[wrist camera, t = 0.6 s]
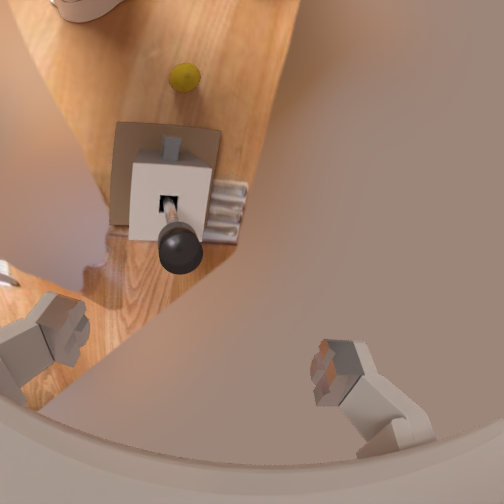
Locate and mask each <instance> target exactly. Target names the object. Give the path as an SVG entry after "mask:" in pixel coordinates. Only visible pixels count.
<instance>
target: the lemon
mask: <svg viewBox="0 0 504 504" xmlns="http://www.w3.org/2000/svg"><path fill="white" fill-rule="evenodd" d="M200 78H201V76H200V71H199V69H198V68H197V67H196V66H195V65H193V64H190V63H183V64H179V65H177V66H176V67H175V68H173V70H172V71H171V73H170V75H169V83H170V85H171V87H172V88H173V89H174V90H176V91H178V92H189V91H191V90H193V89H194V88H196V86H197V85H198V84H199V82H200Z"/></svg>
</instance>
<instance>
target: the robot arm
mask: <svg viewBox="0 0 504 504" xmlns="http://www.w3.org/2000/svg"><path fill="white" fill-rule="evenodd" d="M121 1H124V0H50V2H51V3H52V4H54V5H55V6H57V8H58V11H59V13H60V15H61V16H62V17H63V18H64V19H65V20H67V21H70V22H87V21H91V20H94V19H96V18H99V17H101V16H103V15H104V14H106V13H108V12H109V11H110V10H112V9H113V8H114V7H115V6H116V5H117V4H119V3H120V2H121ZM85 311H86V306H85V302H83V301H81V300H78V299H74V298H71V297H68V296H64V295H61V294H57V293H54V292H51V291H48V292H46V293H45V294H44V295H43V296H42V297H41V299H40V300H39V301H38V302H37V304H36V305H35V306H34V308H33V309H32V310H31V311H30V313H29V314H28V315H27V317H26V318H25V319H24V318H21V319H18V320H16V321H14V322H12V323H10V324H8V325H6V326H4V327H2V328H0V504H504V419H502V418H495V419H493V420H490V421H488V422H486V423H484V424H481V425H479V426H477V427H474V428H472V429H469V430H466V431H464V432H461V433H458V434H456V435H453V436H450V437H447V438H444V439H441V440H438V441H437V440H436V437H435V435H434V432H433V429H432V427H431V424H430V421H429V419H428V417H427V414H426V412H425V411H424V410H422V409H421V408H420V407H419V406H418V405H416V404H415V403H414V402H413V401H412V400H411V399H410V398H408V397H407V396H406V395H405V394H403V393H402V392H401V391H400V390H399V389H398V388H397V387H395V386H394V385H393V384H392V383H391V382H390V381H388V380H387V379H386V378H385V377H383V375H378V372H377V370H376V367H375V365H374V362H373V359H372V357H371V354H370V352H369V349H368V347H367V345H366V343H365V342H364V341H360V340H333V339H324V340H323V341H322V342H321V344H320V345H319V349H320V352H319V353H317V354H316V355H315V356H314V358H313V360H312V363H311V368H310V375H311V380H312V381H313V382H314V384H315V385H316V387H315V389H314V390H313V391H314V396H315V401H316V406H339V409H340V410H341V411H342V412H343V414H344V415H345V416H346V417H347V419H348V420H349V421H350V422H351V423H352V425H353V426H354V427H355V428H356V429H357V431H358V432H359V433H360V434H361V435H362V437H363V438H364V439H365V440H366V441H367V443H366V444H365V445H364V446H363V447H362V448H360V449H359V450H358V452H357V453H356V454H357V459H354V460H347V461H338V462H328V463H317V464H299V465H252V464H234V463H221V462H212V461H204V460H195V459H189V458H183V457H177V456H171V455H166V454H161V453H156V452H152V451H147V450H143V449H139V448H134V447H131V446H127V445H124V444H120V443H116V442H113V441H110V440H107V439H103V438H100V437H97V436H94V435H91V434H89V433H86V432H83V431H80V430H78V429H75V428H72V427H70V426H67V425H65V424H62V423H60V422H58V421H55V420H53V419H51V418H49V417H46V416H44V415H42V414H40V413H38V412H36V411H34V410H32V409H30V408H28V407H26V406H25V405H26V403H27V398H26V396H25V395H24V393H23V392H22V390H21V389H20V388H21V387H22V386H23V385H25V384H26V383H27V382H29V381H30V380H31V379H33V378H34V377H35V376H37V375H38V374H39V373H41V372H42V371H43V370H45V369H46V368H47V367H49V366H50V365H52V364H53V363H54V361H55V362H58V363H61V364H64V365H67V366H70V367H74V366H75V364H76V362H77V360H78V358H79V356H80V349H79V348H80V347H82V346H84V345H85V344H86V342H87V340H88V338H89V333H90V323H89V319H88V318H87V317H86V316H85V315H84V313H85Z"/></svg>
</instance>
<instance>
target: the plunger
mask: <svg viewBox="0 0 504 504" xmlns="http://www.w3.org/2000/svg"><path fill="white" fill-rule="evenodd" d="M177 199H178V196H169V195H160V202H159V211H164V213H165V219H166V224H167V225H166V226H165V227H164V228H163V229H162V230H161V231H160V233H159V236H158V250H159V258H160V262H161V264H162V266H163V267H164V268H165V269H166V270H167V271H169V272H171V273H173V274H186V273H189V272H191V271H193V270H194V269H196V268H197V267H198V265H199V264H200V262H201V260H202V257H203V250H202V247H201V244H200V242H199V239H198V237H197V235H196V232H195V230H194V229H193V228H192V227H191V226H190V225H189V224H187V223H184V222H179V218H178V215H177V212H176V209H177Z"/></svg>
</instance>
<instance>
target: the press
mask: <svg viewBox="0 0 504 504" xmlns="http://www.w3.org/2000/svg"><path fill="white" fill-rule="evenodd" d="M220 136H221V131H219V130H211V129H204V128H195V127H186V126H176V125H165V124H152V123H135V122H117V123H116V131H115V139H114V149H113V159H112V172H111V188H110V224H109V225H129V240H151V241H158V236H159V233H160V231H161V230H162V229H163V228H164V227H165V226H166V225H167V224H166V219H165V213H164V211H159V202H160V195H169V196H178V199H177V209H176V212H177V215H178V218H179V222H184V223H187V224H189V225H190V226H191V227H192V228H193V229H194V230H195V232H196V235H197V237H198V239H199V242H202V237H203V229H204V228H206V226H207V219H208V212H209V205H210V198H211V191H212V185H213V178H214V172H215V166H216V159H217V154H218V148H219V142H220Z"/></svg>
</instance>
